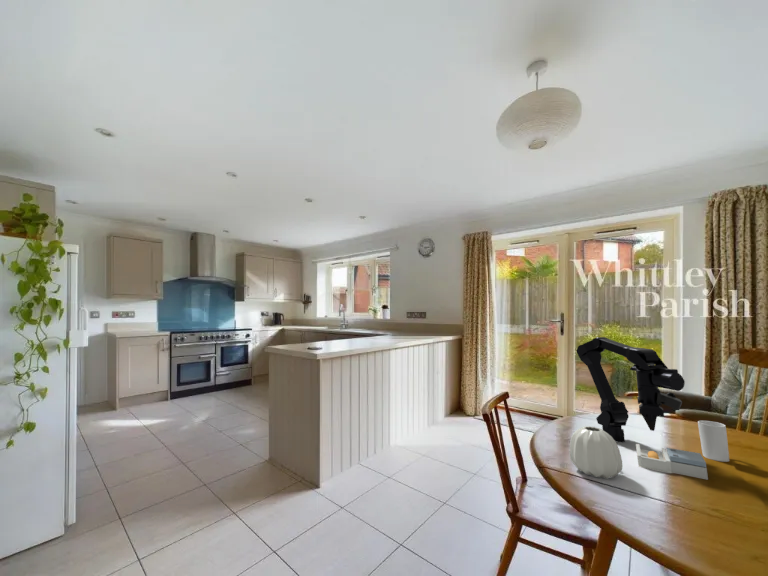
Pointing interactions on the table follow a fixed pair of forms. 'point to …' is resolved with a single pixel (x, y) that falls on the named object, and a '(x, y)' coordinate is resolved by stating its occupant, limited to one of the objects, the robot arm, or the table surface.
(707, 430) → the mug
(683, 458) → the cover
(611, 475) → the vase
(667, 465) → the white open box
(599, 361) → the robot arm
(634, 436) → the table surface
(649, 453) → the orange rounded block
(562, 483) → the table surface
